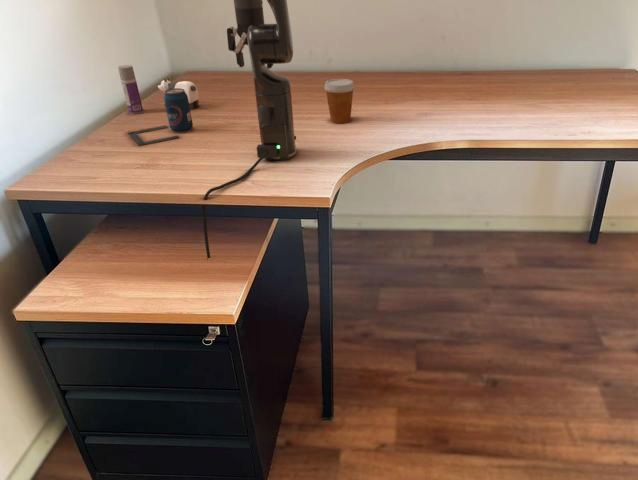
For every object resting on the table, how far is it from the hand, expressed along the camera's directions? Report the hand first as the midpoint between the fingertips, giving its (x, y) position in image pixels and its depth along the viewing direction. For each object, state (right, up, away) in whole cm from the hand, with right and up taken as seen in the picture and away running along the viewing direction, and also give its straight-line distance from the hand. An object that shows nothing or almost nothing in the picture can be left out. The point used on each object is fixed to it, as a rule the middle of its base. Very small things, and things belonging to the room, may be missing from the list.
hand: (255, 67), depth 157 cm
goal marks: (-32, -17, +10) cm, 38 cm away
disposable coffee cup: (+24, -10, +20) cm, 32 cm away
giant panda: (-33, -1, +35) cm, 48 cm away
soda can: (-26, -15, +14) cm, 33 cm away
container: (-47, -4, +31) cm, 56 cm away
